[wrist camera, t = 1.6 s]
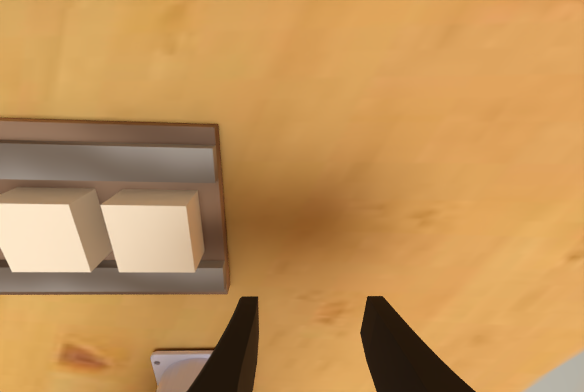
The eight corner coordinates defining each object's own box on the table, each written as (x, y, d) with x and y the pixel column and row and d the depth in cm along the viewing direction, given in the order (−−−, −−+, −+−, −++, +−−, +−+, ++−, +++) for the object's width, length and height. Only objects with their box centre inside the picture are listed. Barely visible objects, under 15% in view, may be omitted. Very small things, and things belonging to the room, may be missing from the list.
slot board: (229, 284, 21) (225, 302, 19) (-4, 284, 20) (-30, 303, 18) (218, 124, 16) (210, 129, 14) (-93, 115, 15) (-139, 119, 13)
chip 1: (112, 250, 18) (91, 272, 16) (42, 249, 17) (12, 272, 15) (95, 188, 16) (68, 204, 14) (17, 187, 16) (-21, 203, 14)
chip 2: (204, 250, 18) (195, 272, 16) (137, 250, 18) (119, 272, 16) (197, 190, 16) (186, 206, 14) (123, 189, 16) (100, 204, 14)
